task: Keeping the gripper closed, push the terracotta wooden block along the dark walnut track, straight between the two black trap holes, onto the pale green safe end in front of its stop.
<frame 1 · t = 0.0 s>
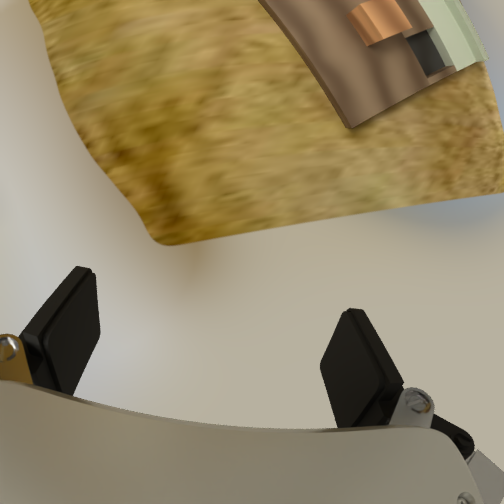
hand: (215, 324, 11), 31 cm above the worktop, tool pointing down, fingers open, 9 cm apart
safe end: (424, 6, 29), on the worktop
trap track: (381, 21, 30), on the worktop
block: (370, 24, 29), point 2 cm above the worktop, touching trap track
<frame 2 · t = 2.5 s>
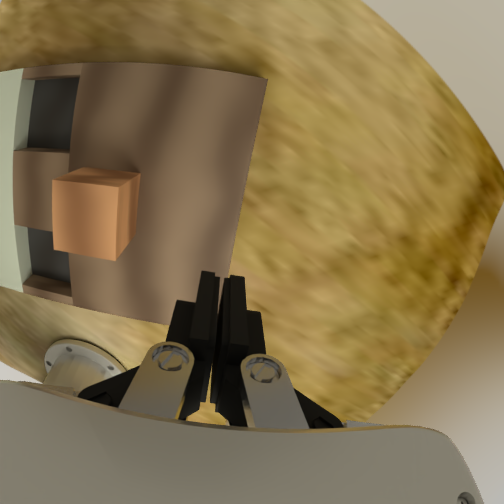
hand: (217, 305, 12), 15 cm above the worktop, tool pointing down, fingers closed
safe end: (8, 180, 23), on the worktop
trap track: (84, 188, 24), on the worktop
block: (108, 200, 22), point 2 cm above the worktop, touching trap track
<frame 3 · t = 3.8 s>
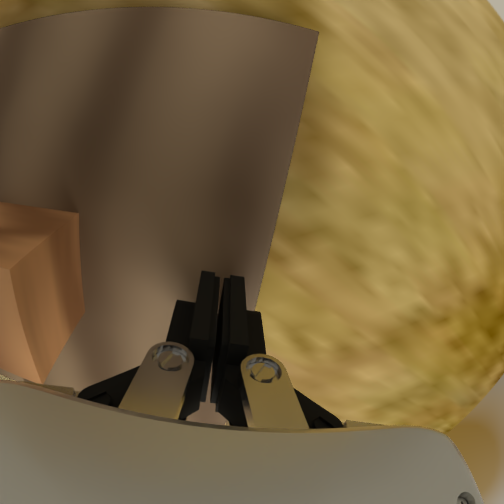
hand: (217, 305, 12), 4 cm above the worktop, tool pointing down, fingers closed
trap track: (15, 228, 14), on the worktop
block: (37, 257, 12), point 2 cm above the worktop, touching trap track
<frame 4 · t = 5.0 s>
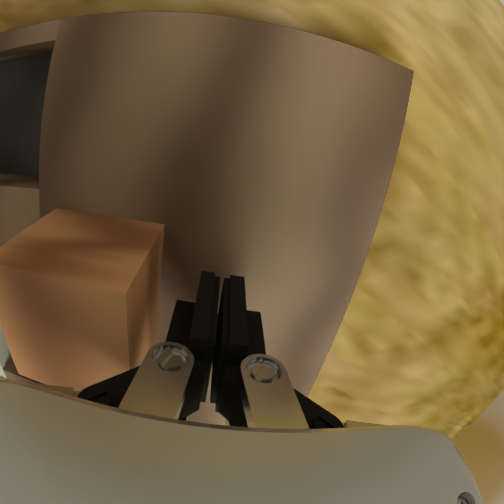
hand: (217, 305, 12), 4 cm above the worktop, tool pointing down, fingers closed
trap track: (74, 242, 14), on the worktop
block: (106, 269, 12), point 3 cm above the worktop, touching gripper
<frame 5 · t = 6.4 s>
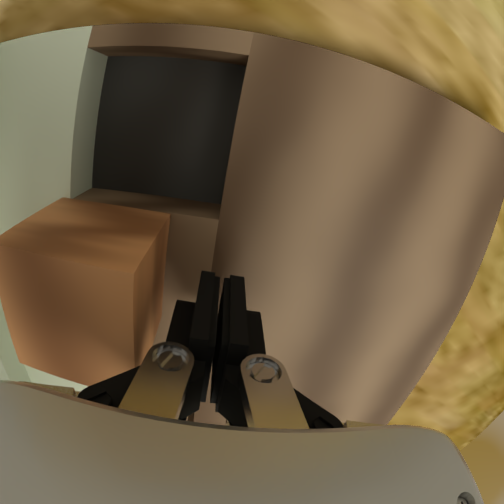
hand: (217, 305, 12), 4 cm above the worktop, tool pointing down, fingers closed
safe end: (52, 244, 15), on the worktop
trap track: (220, 270, 16), on the worktop
block: (110, 259, 12), point 3 cm above the worktop, touching gripper, safe end
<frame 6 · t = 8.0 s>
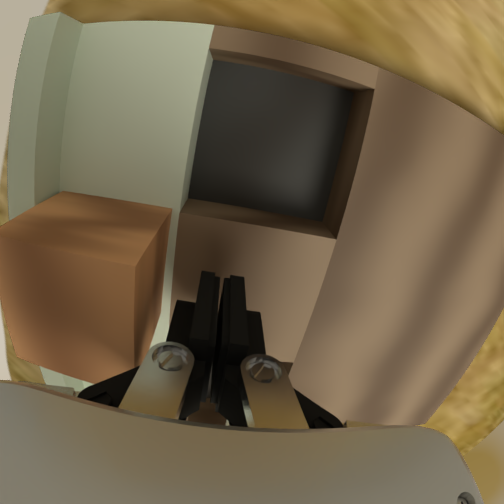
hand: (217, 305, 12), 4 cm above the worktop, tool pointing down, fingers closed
safe end: (129, 255, 15), on the worktop
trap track: (311, 283, 16), on the worktop
block: (110, 254, 12), point 2 cm above the worktop, touching gripper, safe end
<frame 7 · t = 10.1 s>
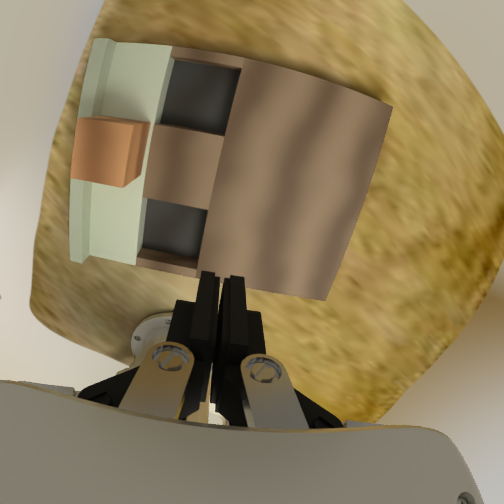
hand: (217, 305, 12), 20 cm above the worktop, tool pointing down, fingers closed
safe end: (128, 153, 28), on the worktop
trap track: (222, 170, 29), on the worktop
block: (121, 144, 25), point 2 cm above the worktop, touching safe end
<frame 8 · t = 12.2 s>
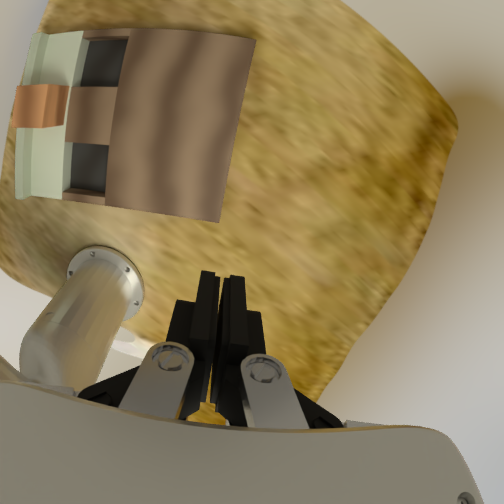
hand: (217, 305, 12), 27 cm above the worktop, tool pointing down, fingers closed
safe end: (60, 113, 31), on the worktop
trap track: (124, 116, 32), on the worktop
block: (50, 105, 28), point 2 cm above the worktop, touching safe end
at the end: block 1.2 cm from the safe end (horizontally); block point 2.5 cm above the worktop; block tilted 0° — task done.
